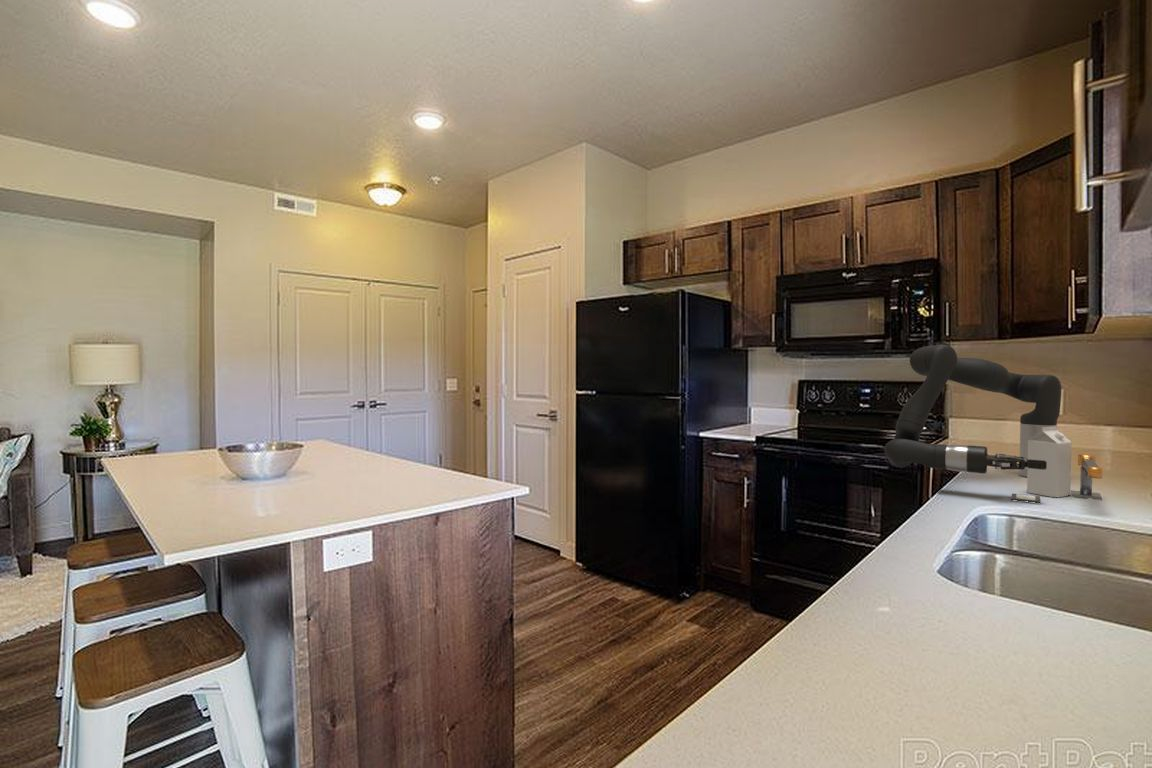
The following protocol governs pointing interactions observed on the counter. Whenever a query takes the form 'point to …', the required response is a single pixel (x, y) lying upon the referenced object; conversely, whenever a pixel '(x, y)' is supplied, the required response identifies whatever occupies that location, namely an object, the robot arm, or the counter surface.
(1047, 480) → the milk carton
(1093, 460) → the swing arm
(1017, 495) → the label plate
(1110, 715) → the counter surface
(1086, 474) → the pivot post
